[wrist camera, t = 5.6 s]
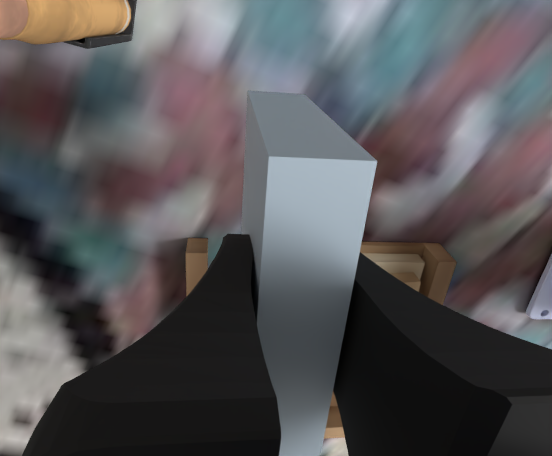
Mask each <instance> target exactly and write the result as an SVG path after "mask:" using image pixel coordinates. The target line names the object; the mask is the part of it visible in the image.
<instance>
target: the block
mask: <svg viewBox="0 0 552 456" xmlns="http://www.w3.org/2000/svg"><path fill="white" fill-rule="evenodd" d="M376 165H377V160H375V159H374V158H373V157H372V156H371V155H370V154H369V153H368V152H367V151H366V150H365V149H363V148H362V147H361V146H360V145H359V144H358V143H357V142H356V141H355V140H354V139H353V138H351V137H350V136H349V135H348V134H347V133H346V132H345V131H344V130H343V129H342V128H341V127H339V126H338V125H337V124H336V123H335V122H334V121H333V120H332V119H331V118H330V117H329V116H327V115H326V114H325V113H324V112H323V111H322V110H321V109H320V108H319V107H318V106H317V105H315V104H314V103H313V102H312V101H311V100H310V99H309V98H308V97H307V96H306V95H305V94H291V93H276V92H260V91H248V93H247V115H246V137H245V160H244V182H243V204H242V227H241V234H249V235H250V238H251V242H252V247H253V256H252V273H251V294H252V300H253V306H254V313H255V318H256V323H257V328H258V334H259V338H260V342H261V346H262V351H263V355H264V359H265V362H266V366H267V369H268V372H269V376H270V379H271V383H272V385H273V388H274V391H275V394H276V397H277V404H278V411H279V418H280V426H281V444H280V452H279V456H320V455H321V450H322V445H323V439H324V434H325V429H326V424H327V419H328V413H329V408H330V403H331V398H332V393H333V388H334V382H335V377H336V372H337V367H338V362H339V357H340V351H341V346H342V341H343V336H344V331H345V325H346V320H347V315H348V310H349V305H350V300H351V294H352V289H353V284H354V279H355V274H356V269H357V263H358V258H359V253H360V248H361V243H362V237H363V232H364V227H365V222H366V217H367V212H368V206H369V201H370V196H371V191H372V186H373V180H374V175H375V170H376Z"/></svg>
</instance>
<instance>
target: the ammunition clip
mask: <svg viewBox="0 0 552 456" xmlns="http://www.w3.org/2000/svg"><path fill="white" fill-rule="evenodd" d="M136 1H137V0H0V39H2V40H20V41H23V42H27V43H31V44H48V43H56V42H65V43H69V44H72V45H76V46H79V47H83V48H86V49H89V48H95V47H100V46H106V45H111V44H117V43H122V42H128V41H131V40H132V34H133V26H134V18H135V10H136Z"/></svg>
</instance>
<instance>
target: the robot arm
mask: <svg viewBox="0 0 552 456" xmlns="http://www.w3.org/2000/svg"><path fill="white" fill-rule="evenodd" d="M252 256H253V247H252V242H251V238H250V235H249V234H227V235H226V236H225V237H224V238H223V241H222V244H221V247H220V249H219V251H218V253H217V255H216V257H215V258H214V260H213V262H212V263H211V265H210V266H209V268H208V270H207V271H206V273H205V274H204V275H203V277H202V278H201V279H200V281H199V282H198V283H197V285H196V286H195V287H194V289H193V290H192V291H191V292H190V293H189V295H188V296H187V297H186V298H185V299H184V300H183V301H182V302H181V303H180V304H179V305H178V306H177V307H176V308H175V309H174V310H173V311H172V312H171V313H170V314H169V315H168V316H167V317H166V318H165V319H164V320H163V321H161V322H160V323H159V324H158V325H157V326H156V327H155V328H153V329H152V330H151V331H150V332H148V333H147V334H146V335H145V336H143V337H142V338H141V339H139V340H138V341H136V342H135V343H133V344H132V345H131V346H129V347H127V348H126V349H124V350H123V351H121V352H120V353H118V354H117V355H115V356H113V357H112V358H110V359H109V360H107V361H105V362H103V363H101V364H99V365H98V366H96V367H94V368H92V369H90V370H89V371H87V372H85V373H83V374H81V375H80V376H78V377H76V378H74V379H72V380H70V381H68V382H66V383H64V384H63V385H62V386H61V388H60V389H59V391H58V392H57V394H56V396H55V397H54V399H53V400H52V402H51V404H50V405H49V407H48V408H47V410H46V412H45V413H44V415H43V416H42V418H41V420H40V421H39V423H38V425H37V426H36V428H35V430H34V432H33V434H32V436H31V438H30V440H29V442H28V444H27V446H26V448H25V450H24V453H23V455H22V456H279V452H280V444H281V426H280V418H279V411H278V404H277V397H276V394H275V391H274V388H273V385H272V383H271V379H270V376H269V372H268V369H267V366H266V362H265V359H264V355H263V351H262V346H261V342H260V338H259V334H258V328H257V323H256V318H255V313H254V306H253V300H252V294H251V273H252ZM526 314H527V315H528V316H529V317H530V318H531V319H552V254H551V256H550V258H549V261H548V263H547V265H546V267H545V269H544V272H543V274H542V276H541V278H540V281H539V283H538V285H537V287H536V290H535V292H534V294H533V296H532V298H531V301H530V303H529V305H528V307H527V310H526ZM333 392H334V395H335V398H336V402H337V405H338V409H339V412H340V417H341V421H342V426H343V430H344V435H345V440H346V444H347V449H348V454H349V456H552V350H551V349H548V348H545V347H542V346H539V345H537V344H534V343H531V342H528V341H525V340H522V339H519V338H517V337H514V336H511V335H509V334H506V333H503V332H501V331H498V330H496V329H493V328H491V327H488V326H486V325H484V324H482V323H479V322H477V321H475V320H472V319H470V318H468V317H466V316H463V315H461V314H459V313H457V312H455V311H453V310H451V309H449V308H447V307H445V306H443V305H441V304H439V303H438V302H436V301H434V300H432V299H430V298H428V297H426V296H425V295H423V294H421V293H419V292H418V291H416V290H414V289H413V288H411V287H410V286H408V285H407V284H405V283H403V282H402V281H400V280H399V279H397V278H396V277H394V276H393V275H391V274H390V273H388V272H387V271H385V270H384V269H383V268H381V267H380V266H378V265H377V264H376V263H374V262H373V261H372V260H370V259H369V258H367V257H366V256H365V255H363V254H362V253H361V252H360V253H359V258H358V263H357V269H356V274H355V279H354V284H353V289H352V294H351V300H350V305H349V310H348V315H347V320H346V325H345V331H344V336H343V341H342V346H341V351H340V357H339V362H338V367H337V372H336V377H335V382H334V388H333Z"/></svg>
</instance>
